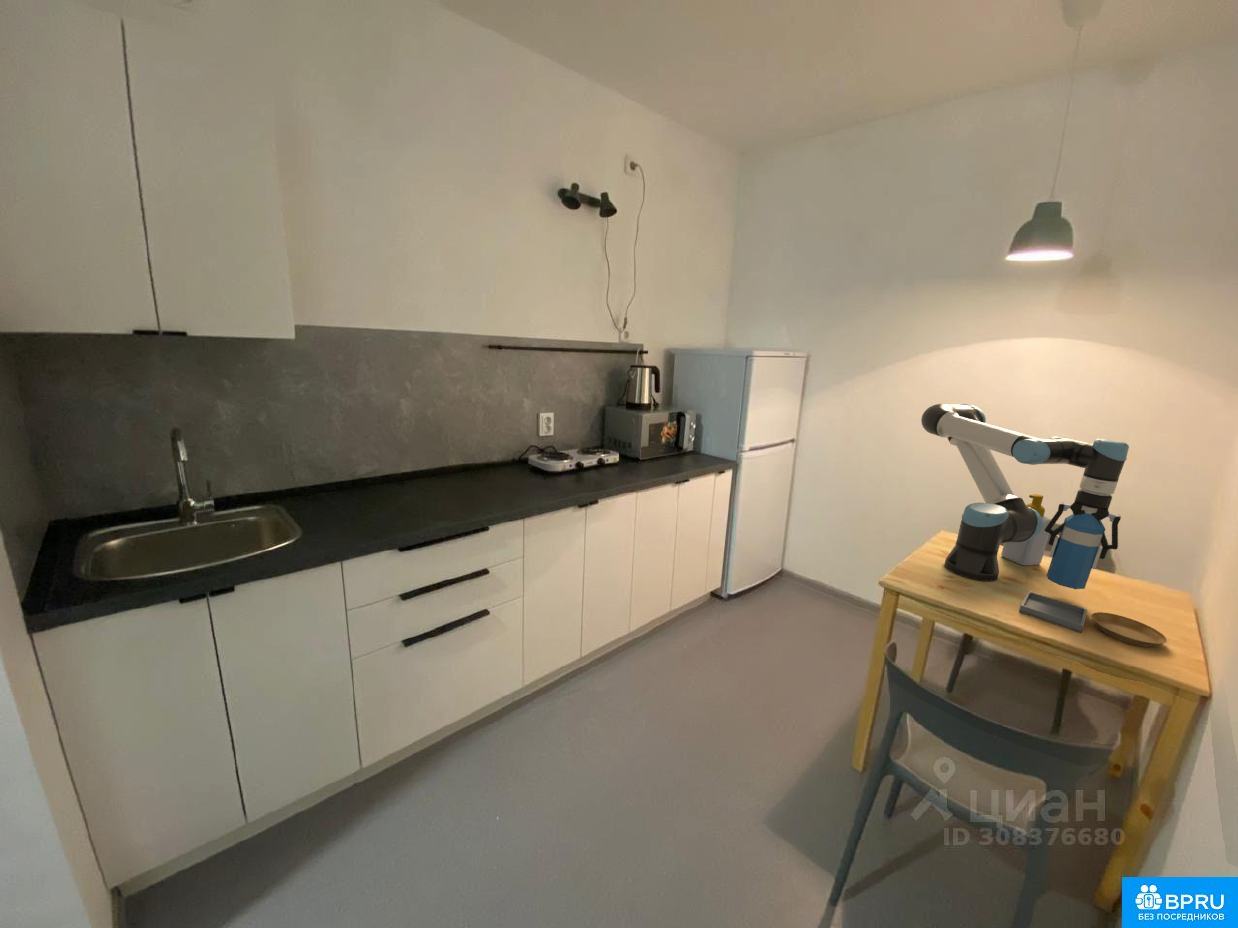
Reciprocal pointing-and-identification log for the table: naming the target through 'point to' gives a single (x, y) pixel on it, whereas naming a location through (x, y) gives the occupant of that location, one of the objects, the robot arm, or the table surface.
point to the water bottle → (1076, 550)
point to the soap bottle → (1030, 549)
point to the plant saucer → (1128, 630)
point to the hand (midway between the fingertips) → (1072, 561)
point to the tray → (1054, 611)
